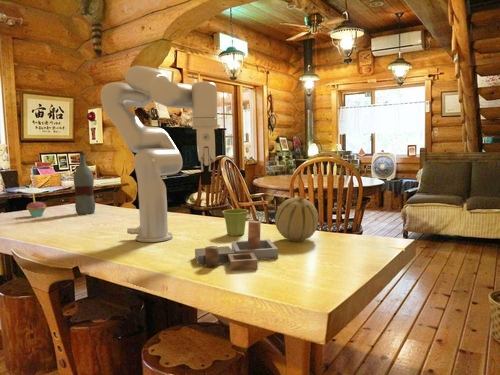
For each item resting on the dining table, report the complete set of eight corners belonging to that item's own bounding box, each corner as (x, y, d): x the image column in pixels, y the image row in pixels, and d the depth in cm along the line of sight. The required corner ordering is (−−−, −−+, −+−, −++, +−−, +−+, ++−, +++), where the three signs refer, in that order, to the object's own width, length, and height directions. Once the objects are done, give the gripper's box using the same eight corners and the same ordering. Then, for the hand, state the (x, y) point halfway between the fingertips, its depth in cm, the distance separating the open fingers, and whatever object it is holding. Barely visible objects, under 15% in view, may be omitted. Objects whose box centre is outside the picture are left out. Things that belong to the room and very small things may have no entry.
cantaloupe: (290, 233, 149) (290, 192, 147) (326, 239, 140) (326, 195, 138) (266, 241, 138) (265, 197, 136) (303, 247, 128) (303, 200, 127)
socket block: (231, 270, 106) (230, 261, 106) (228, 263, 113) (228, 254, 113) (257, 269, 107) (257, 259, 107) (253, 261, 114) (253, 252, 114)
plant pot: (245, 237, 144) (245, 213, 143) (219, 236, 146) (219, 212, 145) (251, 232, 153) (250, 209, 152) (226, 231, 155) (226, 208, 154)
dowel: (250, 253, 120) (250, 223, 119) (246, 250, 123) (246, 221, 123) (261, 253, 121) (262, 222, 120) (257, 250, 124) (258, 220, 124)
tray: (236, 260, 115) (236, 251, 115) (231, 250, 127) (231, 241, 127) (278, 258, 117) (277, 248, 117) (269, 247, 129) (269, 239, 129)
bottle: (88, 215, 198) (84, 152, 194) (71, 214, 200) (67, 153, 197) (99, 212, 207) (96, 152, 204) (83, 211, 209) (79, 152, 206)
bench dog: (205, 268, 109) (205, 249, 108) (205, 264, 112) (204, 246, 112) (219, 267, 109) (219, 248, 109) (218, 263, 113) (217, 245, 112)
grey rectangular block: (199, 266, 112) (198, 256, 112) (195, 259, 120) (194, 248, 119) (234, 263, 114) (234, 252, 114) (228, 255, 122) (228, 246, 122)
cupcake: (41, 217, 193) (39, 192, 192) (23, 217, 194) (21, 192, 192) (50, 214, 202) (48, 190, 201) (33, 214, 202) (31, 190, 201)
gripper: (219, 123, 117) (220, 187, 119) (215, 125, 132) (216, 182, 134) (192, 123, 116) (194, 187, 118) (192, 125, 131) (193, 182, 133)
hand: (206, 184), depth 126 cm, fingers closed
